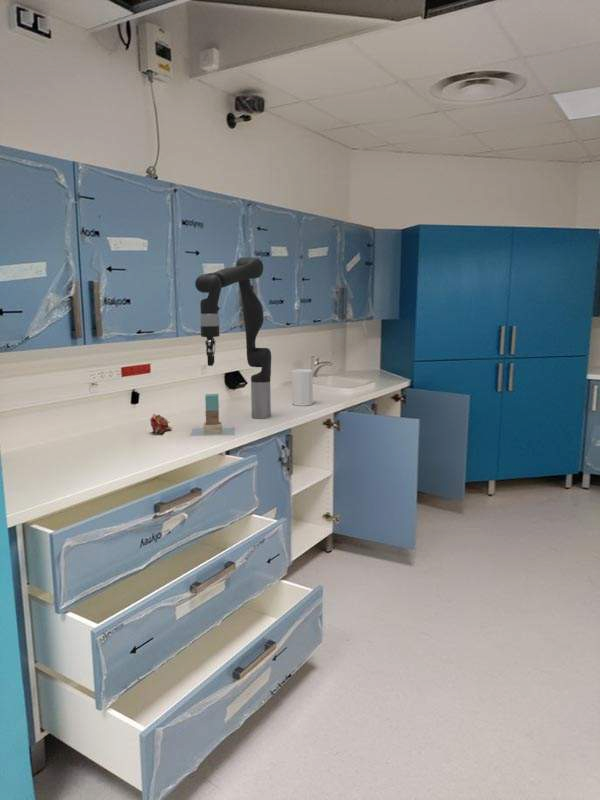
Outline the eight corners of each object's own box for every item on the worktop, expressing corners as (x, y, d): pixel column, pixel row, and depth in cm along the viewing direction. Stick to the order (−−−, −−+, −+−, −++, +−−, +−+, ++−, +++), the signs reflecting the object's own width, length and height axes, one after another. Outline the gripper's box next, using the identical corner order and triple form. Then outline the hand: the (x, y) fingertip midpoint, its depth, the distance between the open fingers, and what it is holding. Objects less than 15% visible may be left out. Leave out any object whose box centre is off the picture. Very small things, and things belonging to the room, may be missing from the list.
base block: (204, 430, 243) (204, 422, 243) (221, 430, 244) (221, 421, 243) (203, 434, 236) (203, 425, 236) (221, 434, 237) (220, 425, 236)
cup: (303, 402, 320) (303, 368, 317) (317, 404, 311) (317, 370, 308) (287, 404, 313) (287, 370, 310) (300, 407, 304) (300, 372, 301)
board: (193, 431, 248) (192, 428, 248) (235, 430, 250) (235, 427, 250) (189, 438, 235) (189, 435, 234) (234, 437, 236) (234, 434, 236)
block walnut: (206, 422, 242) (206, 408, 241) (218, 422, 242) (218, 408, 241) (206, 425, 237) (205, 410, 236) (218, 424, 237) (217, 410, 236)
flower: (144, 432, 239) (155, 416, 238) (144, 423, 247) (154, 408, 246) (164, 442, 243) (175, 428, 242) (163, 434, 251) (173, 419, 250)
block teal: (206, 408, 241) (206, 394, 240) (218, 408, 241) (218, 393, 240) (205, 410, 236) (205, 396, 235) (218, 410, 236) (217, 395, 235)
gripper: (218, 325, 229) (219, 366, 232) (219, 324, 243) (221, 362, 246) (199, 325, 228) (200, 366, 231) (201, 324, 242) (203, 362, 245)
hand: (211, 364), depth 238 cm, fingers open, 8 cm apart
